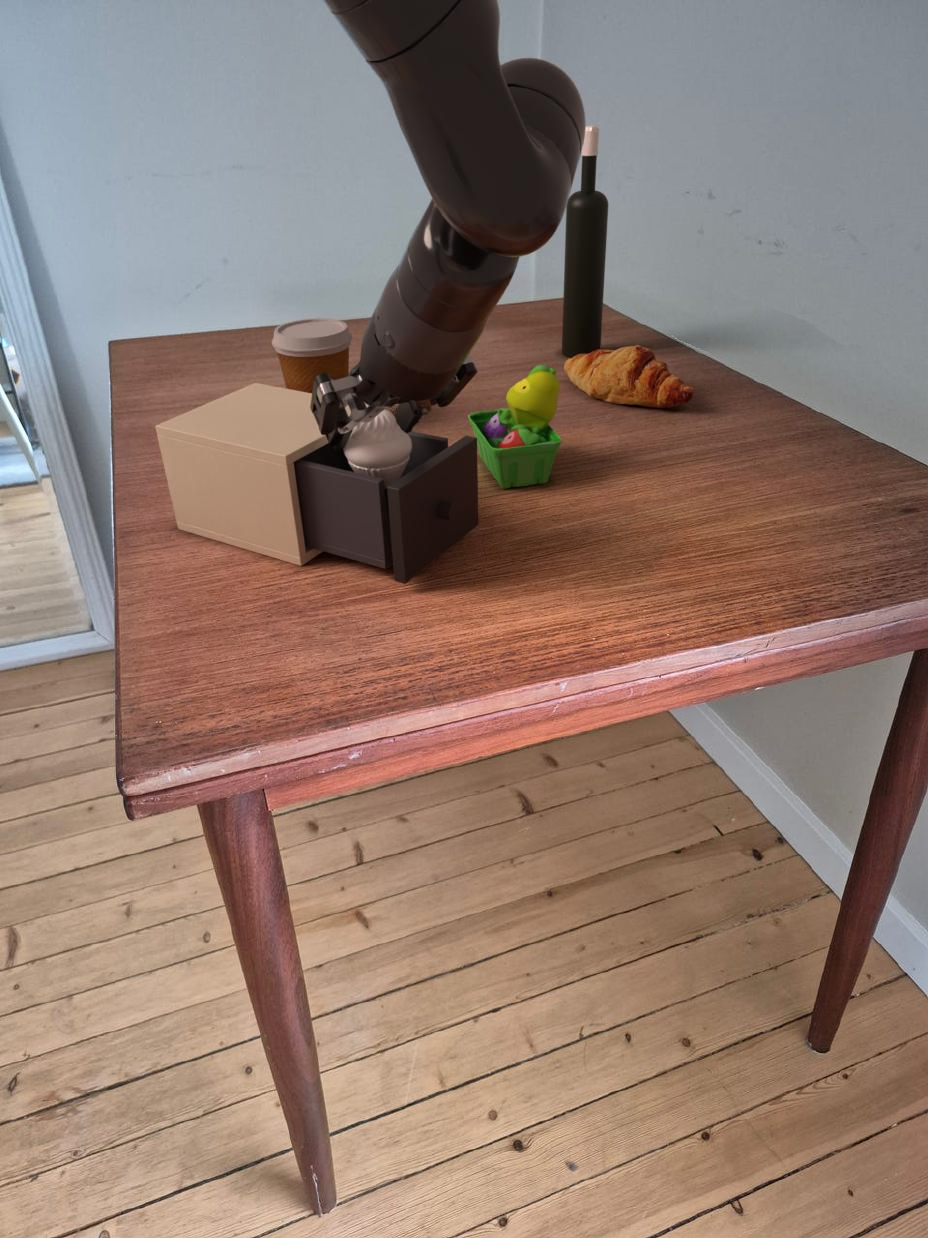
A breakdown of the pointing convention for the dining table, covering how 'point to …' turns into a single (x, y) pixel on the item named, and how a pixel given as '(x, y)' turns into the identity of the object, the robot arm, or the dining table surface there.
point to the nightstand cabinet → (243, 469)
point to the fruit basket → (521, 431)
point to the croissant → (627, 378)
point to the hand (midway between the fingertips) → (368, 431)
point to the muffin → (379, 448)
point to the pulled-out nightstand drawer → (391, 505)
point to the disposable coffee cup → (312, 351)
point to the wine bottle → (585, 258)
